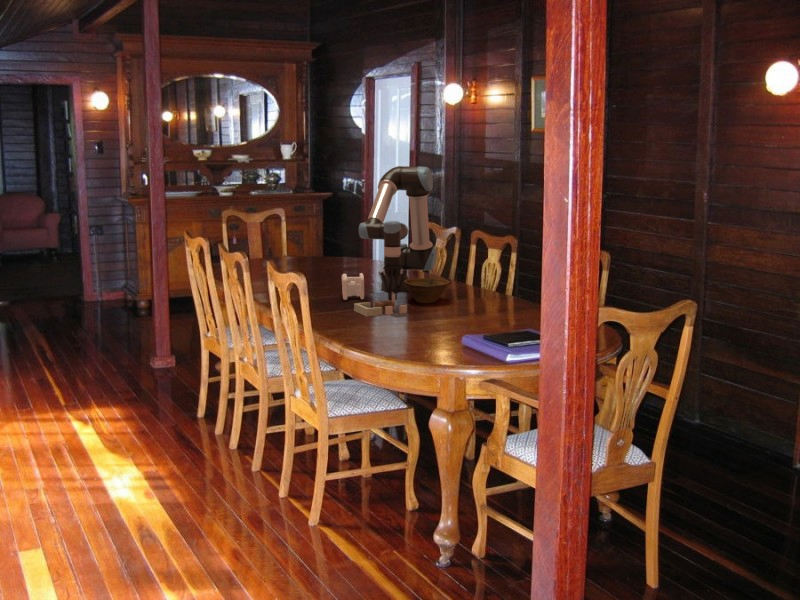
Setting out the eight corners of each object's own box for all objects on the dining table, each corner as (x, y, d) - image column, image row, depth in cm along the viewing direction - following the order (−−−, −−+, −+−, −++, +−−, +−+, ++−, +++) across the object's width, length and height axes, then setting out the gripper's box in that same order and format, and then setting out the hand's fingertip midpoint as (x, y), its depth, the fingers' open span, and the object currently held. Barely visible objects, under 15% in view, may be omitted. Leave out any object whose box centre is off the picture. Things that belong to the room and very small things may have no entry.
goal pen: (369, 309, 422) (369, 302, 421) (382, 315, 410) (382, 307, 409) (354, 311, 419) (354, 303, 418) (366, 316, 407) (366, 309, 406)
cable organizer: (364, 301, 442) (364, 277, 440) (342, 301, 441) (342, 277, 439) (363, 295, 457) (363, 272, 455) (341, 295, 456) (341, 272, 454)
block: (388, 310, 421) (388, 300, 421) (394, 312, 416) (394, 302, 415) (374, 311, 418) (374, 301, 418) (380, 313, 413) (380, 303, 412)
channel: (393, 307, 427) (393, 300, 427) (406, 312, 415) (406, 305, 414) (373, 309, 423) (373, 301, 422) (386, 314, 411) (386, 307, 410)
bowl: (456, 299, 447) (457, 279, 446) (438, 307, 427) (438, 286, 425) (415, 295, 456) (415, 275, 455) (395, 303, 436) (395, 283, 434)
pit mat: (404, 314, 414) (404, 313, 414) (409, 316, 409) (409, 315, 409) (390, 316, 411) (390, 314, 411) (395, 318, 406) (395, 317, 406)
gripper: (401, 253, 421) (401, 304, 425) (375, 255, 415) (375, 307, 420) (409, 256, 414) (408, 307, 419) (382, 257, 409) (382, 310, 413)
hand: (392, 307), depth 419 cm, fingers closed
